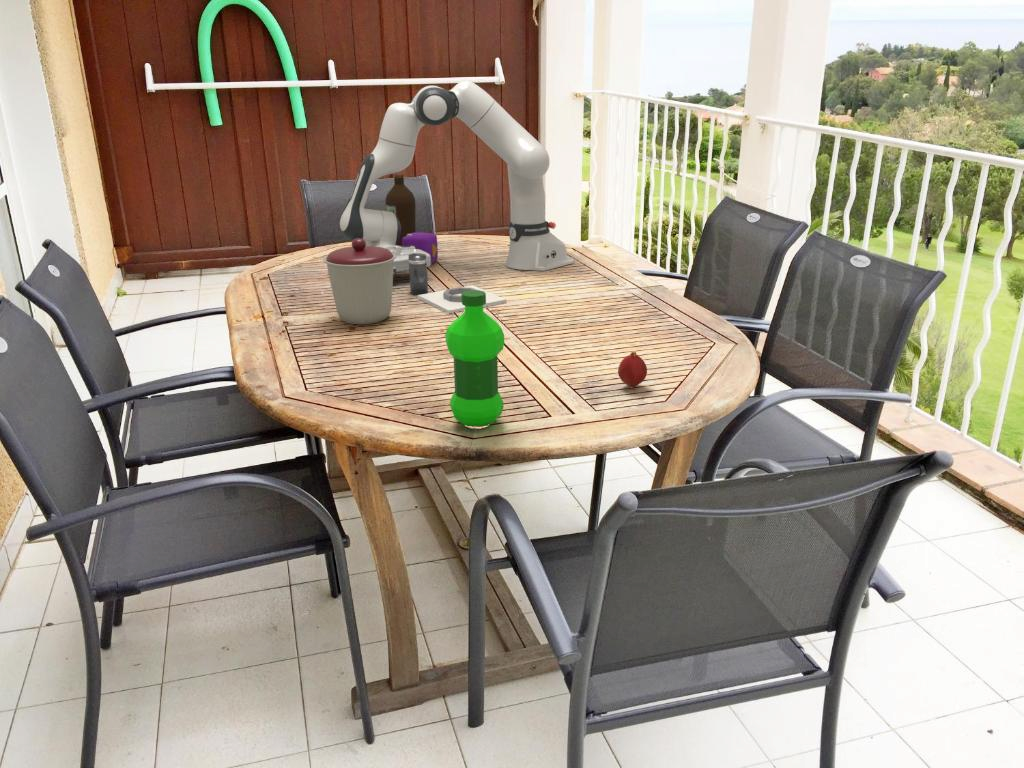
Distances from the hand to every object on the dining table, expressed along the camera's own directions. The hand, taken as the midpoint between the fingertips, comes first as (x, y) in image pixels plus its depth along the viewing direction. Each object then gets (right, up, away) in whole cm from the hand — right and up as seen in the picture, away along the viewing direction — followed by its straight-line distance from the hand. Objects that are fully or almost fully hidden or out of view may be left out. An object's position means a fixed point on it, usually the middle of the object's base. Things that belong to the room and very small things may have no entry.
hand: (408, 268), depth 236 cm
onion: (+55, -35, -70) cm, 95 cm away
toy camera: (0, +6, +32) cm, 33 cm away
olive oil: (-10, +17, +58) cm, 61 cm away
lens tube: (+3, -7, -3) cm, 9 cm away
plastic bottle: (+24, -41, -85) cm, 98 cm away
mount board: (+16, -10, -10) cm, 22 cm away
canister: (-8, -17, -25) cm, 31 cm away
